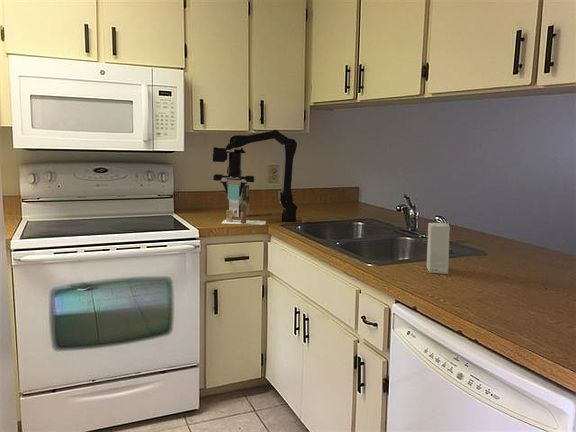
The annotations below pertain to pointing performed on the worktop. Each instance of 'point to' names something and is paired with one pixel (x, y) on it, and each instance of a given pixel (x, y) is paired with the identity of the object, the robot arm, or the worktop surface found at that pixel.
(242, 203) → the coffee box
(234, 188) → the light blue block
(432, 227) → the skincare box
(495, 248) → the worktop surface
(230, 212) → the oak post
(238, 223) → the board
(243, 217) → the walnut dowel
